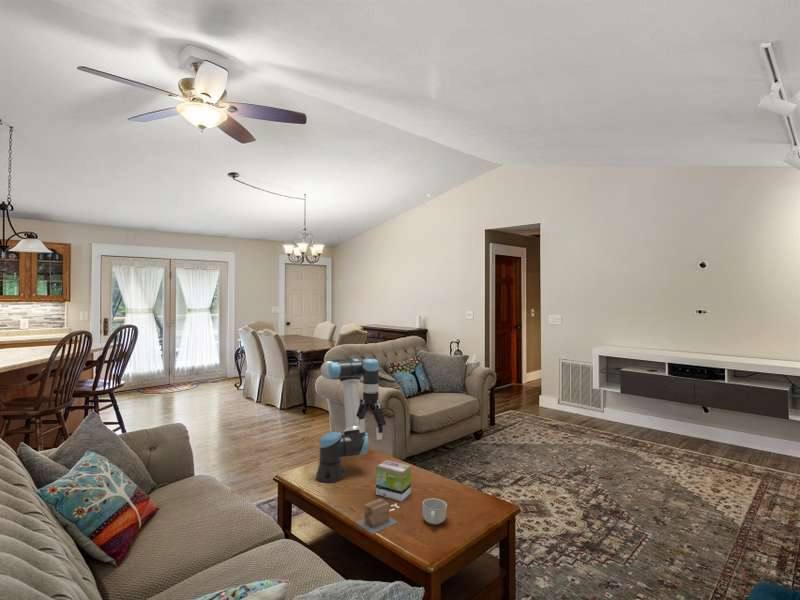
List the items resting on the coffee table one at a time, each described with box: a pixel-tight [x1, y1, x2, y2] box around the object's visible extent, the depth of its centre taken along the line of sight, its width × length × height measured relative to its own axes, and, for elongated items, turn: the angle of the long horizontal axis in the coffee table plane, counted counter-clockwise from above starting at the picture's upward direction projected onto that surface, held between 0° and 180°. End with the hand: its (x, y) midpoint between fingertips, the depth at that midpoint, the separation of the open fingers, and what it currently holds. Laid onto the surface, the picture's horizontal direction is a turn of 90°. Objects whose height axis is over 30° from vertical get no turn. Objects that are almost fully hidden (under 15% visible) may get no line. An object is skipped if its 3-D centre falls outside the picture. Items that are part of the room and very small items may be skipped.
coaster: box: [355, 516, 399, 535], centre depth 191 cm, size 12×14×1 cm
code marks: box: [389, 502, 400, 513], centre depth 204 cm, size 4×8×1 cm, turn 131°
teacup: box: [422, 497, 448, 526], centre depth 191 cm, size 14×11×8 cm
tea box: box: [375, 459, 412, 502], centre depth 218 cm, size 15×10×15 cm, turn 62°
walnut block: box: [364, 497, 390, 528], centre depth 191 cm, size 6×9×8 cm, turn 131°
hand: (370, 435), depth 210 cm, fingers open, 13 cm apart
